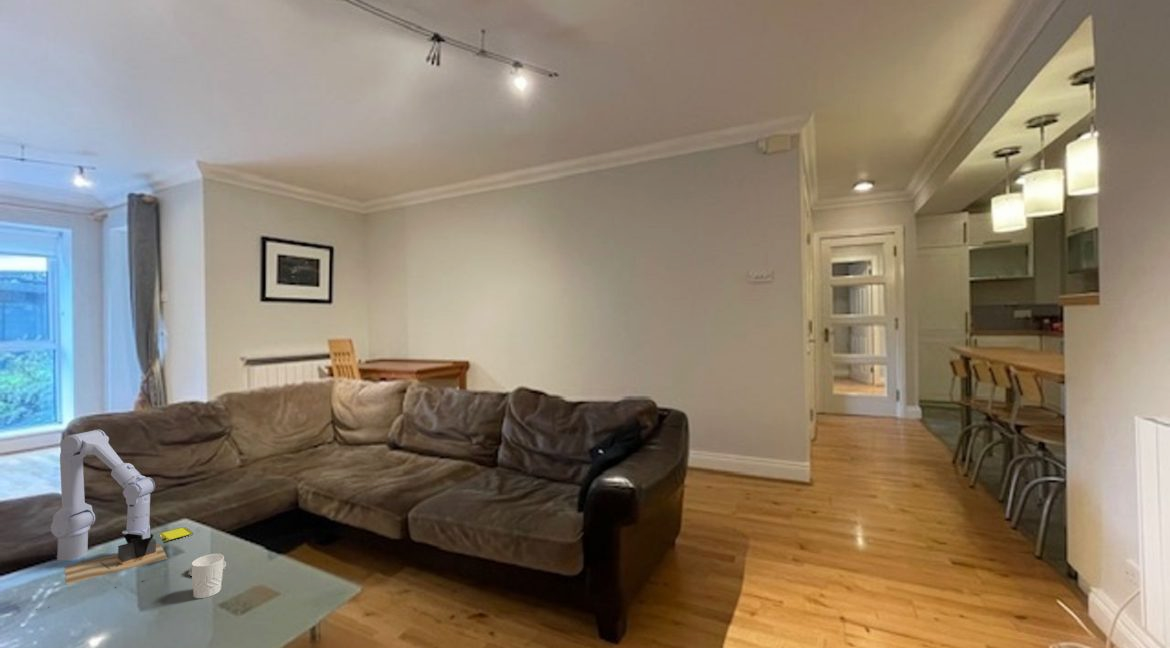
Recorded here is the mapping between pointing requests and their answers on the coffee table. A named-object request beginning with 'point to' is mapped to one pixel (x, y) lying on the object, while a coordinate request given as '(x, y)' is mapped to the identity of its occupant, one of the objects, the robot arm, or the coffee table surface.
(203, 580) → the white cup
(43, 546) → the coffee table surface
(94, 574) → the oak board
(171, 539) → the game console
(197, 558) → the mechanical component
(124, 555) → the block
